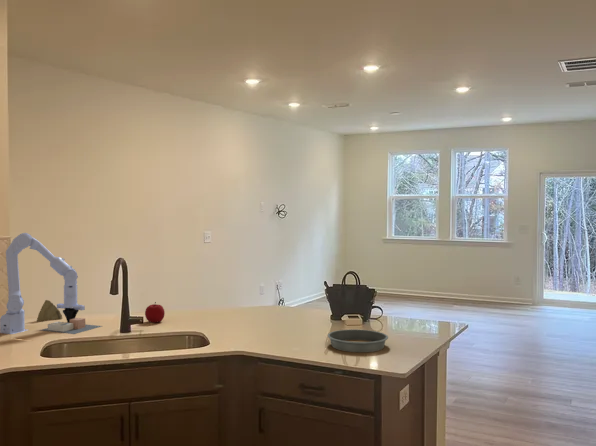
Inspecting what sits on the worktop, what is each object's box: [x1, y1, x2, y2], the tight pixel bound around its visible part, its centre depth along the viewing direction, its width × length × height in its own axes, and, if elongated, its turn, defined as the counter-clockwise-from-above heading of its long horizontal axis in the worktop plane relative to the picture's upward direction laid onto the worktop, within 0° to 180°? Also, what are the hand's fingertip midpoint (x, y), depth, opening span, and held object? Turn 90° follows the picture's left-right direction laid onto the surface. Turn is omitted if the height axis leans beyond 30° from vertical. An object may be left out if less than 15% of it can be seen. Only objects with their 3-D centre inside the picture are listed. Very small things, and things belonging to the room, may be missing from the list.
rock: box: [36, 299, 63, 322], centre depth 274 cm, size 11×9×10 cm
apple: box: [144, 301, 165, 324], centre depth 273 cm, size 9×9×10 cm
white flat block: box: [47, 321, 73, 332], centre depth 252 cm, size 6×9×3 cm, turn 69°
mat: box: [40, 323, 103, 335], centre depth 255 cm, size 18×20×1 cm
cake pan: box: [327, 328, 389, 353], centre depth 228 cm, size 25×25×4 cm
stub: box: [70, 317, 86, 329], centre depth 256 cm, size 4×5×4 cm
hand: (70, 324), depth 257 cm, fingers closed
